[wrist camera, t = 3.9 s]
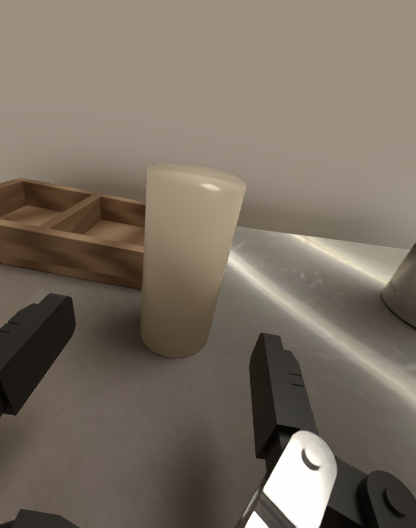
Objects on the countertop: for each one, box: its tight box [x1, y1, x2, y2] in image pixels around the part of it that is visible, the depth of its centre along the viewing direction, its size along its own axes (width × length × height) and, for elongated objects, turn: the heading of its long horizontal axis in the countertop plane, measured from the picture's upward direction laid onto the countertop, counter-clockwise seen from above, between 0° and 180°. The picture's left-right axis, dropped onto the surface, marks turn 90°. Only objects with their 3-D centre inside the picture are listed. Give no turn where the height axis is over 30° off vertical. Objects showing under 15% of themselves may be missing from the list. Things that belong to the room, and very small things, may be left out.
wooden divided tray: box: [0, 178, 146, 290], centre depth 27 cm, size 20×12×4 cm, turn 86°
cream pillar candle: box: [140, 163, 246, 358], centre depth 17 cm, size 5×5×12 cm
